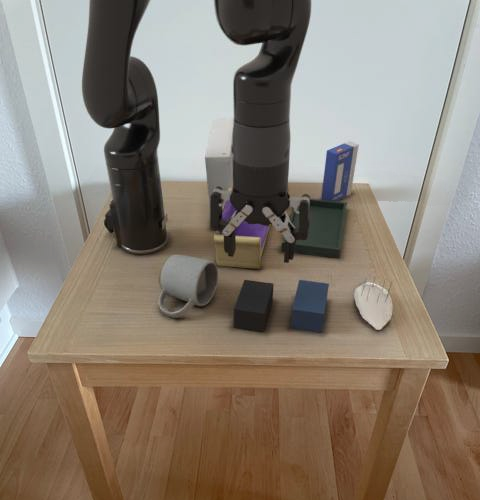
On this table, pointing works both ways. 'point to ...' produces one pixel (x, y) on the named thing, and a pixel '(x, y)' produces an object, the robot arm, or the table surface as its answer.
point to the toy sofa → (241, 242)
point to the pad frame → (321, 229)
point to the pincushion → (374, 304)
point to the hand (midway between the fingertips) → (259, 256)
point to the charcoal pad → (253, 305)
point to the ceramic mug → (187, 282)
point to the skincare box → (219, 155)
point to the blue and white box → (339, 171)
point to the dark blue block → (309, 306)
